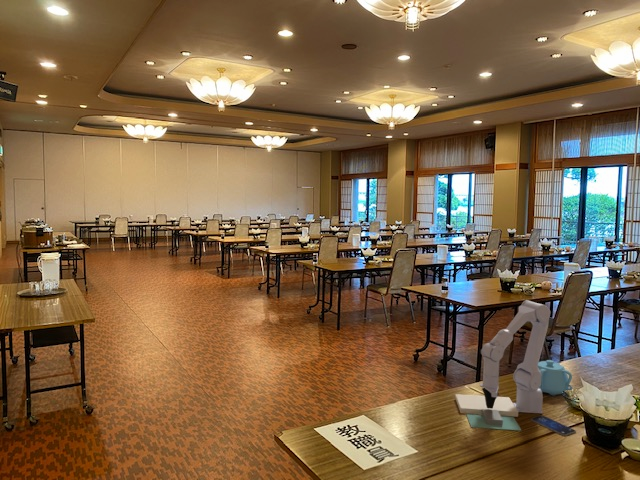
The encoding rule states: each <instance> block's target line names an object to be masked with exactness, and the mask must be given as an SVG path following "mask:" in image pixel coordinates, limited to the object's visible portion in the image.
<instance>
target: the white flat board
mask: <svg viewBox="0 0 640 480" xmlns="http://www.w3.org/2000/svg"><path fill="white" fill-rule="evenodd" d="M454 399H455V401H456V404H457V407H458V410H459V412H460V414H478V415H482V409H491V410H498V412H499V414H500V416H508V417H514V418H515V417H517V418H519V412H518V411H517V409H516V407H515V406H514V404H513V403H514V402H513V401H512V400H511V398H510V397H508V396H497V398H496V400H495V402H494V406H493V408H487V406H486V401H485V396H484V395H475V394H459V393H457V394H456V393H455V398H454Z"/></svg>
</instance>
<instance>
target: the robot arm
mask: <svg viewBox="0 0 640 480" xmlns="http://www.w3.org/2000/svg"><path fill="white" fill-rule="evenodd" d="M551 313H552V312H551V310H550V309H549V307H548V306H547V305H546V304H542V303H539V302H538V303H537V302H534V301H531V300H528V299H526V300H524V301H523V302H522V303H521V305H519V306H518V312H517V313H516V315H515V316H514V317H513V319H512V320H511V321H510V323H509V324H508V325H507V327H506V328H503V329H500V330H499V331H498V332H497V334H496V335H495V336H494V337H493V338H492V339H491V340H490V341H489V342H487V343H484V345H482V348H481V349H480V354H481V355H482V360H483V373H482V374H483V376H482V383H479V387H480V388H481V390H482V391H483V396H485V401H486V406H487V408H493V406H494V402H495V400H496V398H497V397H499V394H500V393H499V391H498V390H499V389H500V388H499V387H500V386H499V377H500V375H499V373H500V360H502V359H503V357H504V353H505V351H506V350H505V349H507V347H508V346H509V345H511V343H512V341H514V334H515V333H517V332H518V330H519V329H521V327H523V326H524V325H525V324H526V323H529V322H530V323H531V324H532V328H531V331H530V335H529V339H528V343H527V347H526V350H525V355H524V358H523V361H522V362H521V363H519V364H518V365H517V367H516V369H515V371H514V372H513V374H512V376H513V377H512V379H513V381H514V382H515V385H516V399H515V401H516V402H512V403H513V404H514V406H515V407H516V409H517V411H518V413H527V414H528V413H529V414H542V415H543V401H544V400H543V399H544V397H543V395H544V394H543V392H542V391H541V389H540V388H539V387H540V385H541V375H542V374H541V372H540V370H539V368H538V363H539V362H540V360H541V359H540V358H541V355H542V351H543V347H544V344H545V340H546V335H547V332H548V329H549V321H550V316H551Z"/></svg>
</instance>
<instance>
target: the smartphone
mask: <svg viewBox="0 0 640 480" xmlns="http://www.w3.org/2000/svg"><path fill="white" fill-rule="evenodd" d="M530 422H533V423H535V424H537V425H538V426H541V427H543V428H545V429H547V428H548V430H549V431H551V432H553V433H555V434H558V435H560V436H561V437H568V436H571V435H574V434H576V433H577V431H576V429H573V428H571V427H569V426H567V425H565V424H562V423H561V422H558V421H557V420H554V419H552V418H549V417H547V416H545V415H543V414H542V415H538V416H534V417H531V418H530Z"/></svg>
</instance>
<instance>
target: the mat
mask: <svg viewBox="0 0 640 480" xmlns="http://www.w3.org/2000/svg"><path fill="white" fill-rule="evenodd" d="M465 415H466V418H467V420H468V423H469V426H470V428H474V429H476V428H477V429H485V430H486V429H487V430H488V429H489V430H502V431H503V430H504V431H515V432H516V431H517V432H521V431H522V429H521V427H520V425H519V423H518V422H517V420H516V418H515V417H513V416H501V418H502V420H503V425H490V424H486V423H485V421H484V418H483V416H482V414H468V413H465Z"/></svg>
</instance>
